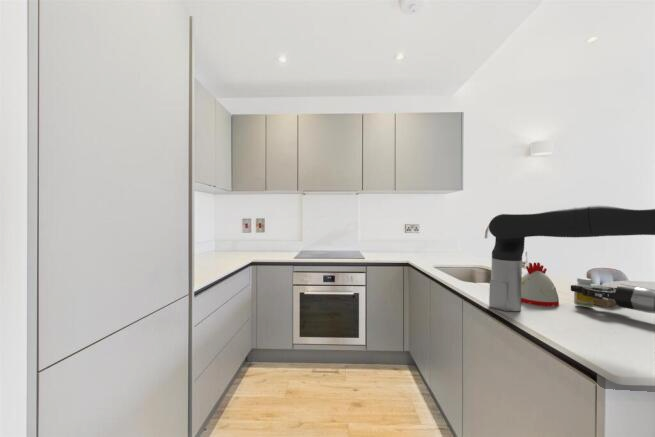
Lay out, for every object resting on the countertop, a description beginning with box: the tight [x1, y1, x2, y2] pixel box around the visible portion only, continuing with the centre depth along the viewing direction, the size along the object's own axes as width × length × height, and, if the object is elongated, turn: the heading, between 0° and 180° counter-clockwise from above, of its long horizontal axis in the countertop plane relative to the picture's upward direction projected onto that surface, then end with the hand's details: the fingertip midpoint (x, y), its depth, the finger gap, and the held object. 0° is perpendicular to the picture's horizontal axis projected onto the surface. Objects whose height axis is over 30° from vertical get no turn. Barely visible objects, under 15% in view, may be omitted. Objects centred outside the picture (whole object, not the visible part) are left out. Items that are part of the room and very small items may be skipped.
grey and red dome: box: [521, 262, 560, 307], centre depth 115 cm, size 14×14×15 cm
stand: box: [591, 283, 617, 308], centre depth 115 cm, size 9×9×6 cm
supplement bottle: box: [573, 277, 595, 308], centre depth 107 cm, size 5×5×10 cm
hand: (575, 287), depth 110 cm, fingers closed on supplement bottle, 5 cm apart
